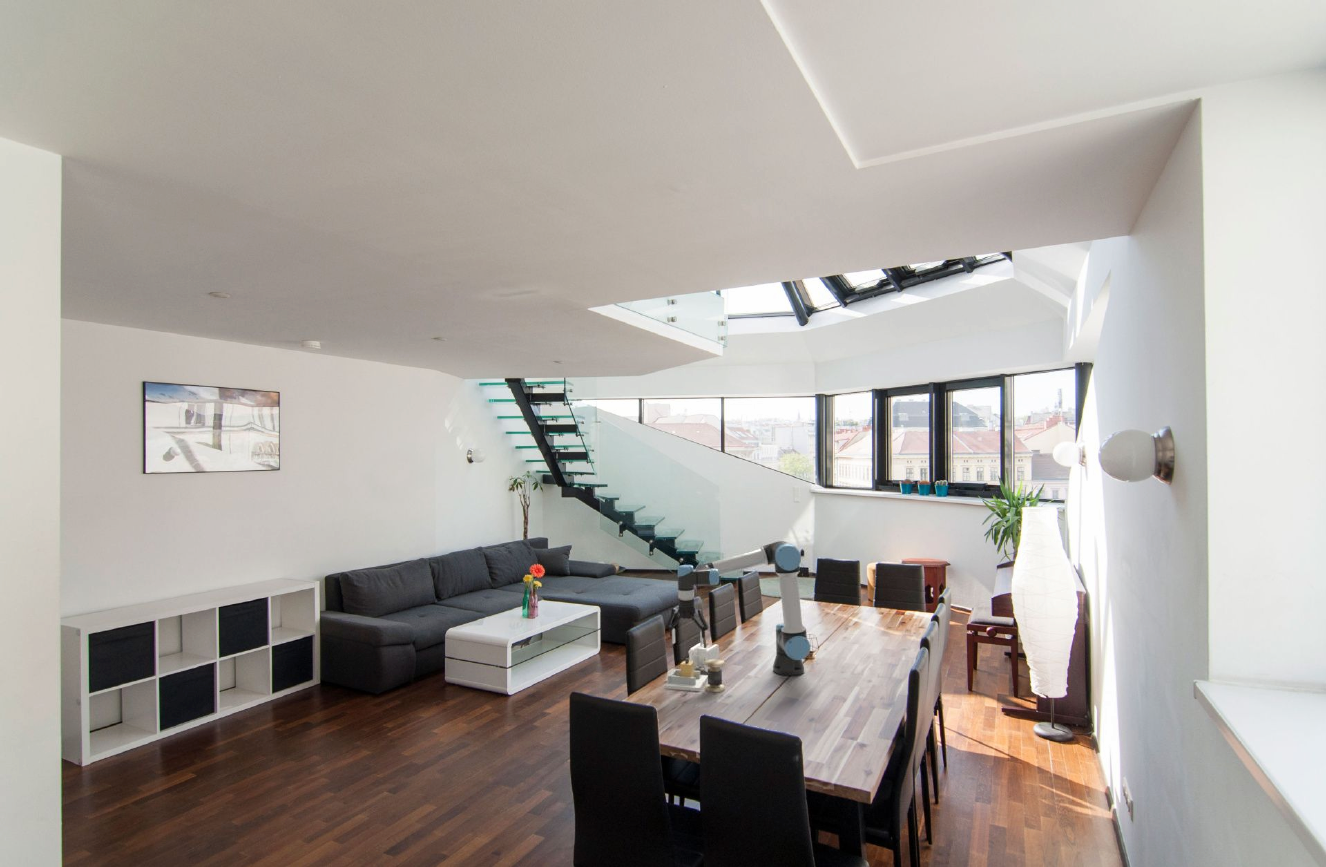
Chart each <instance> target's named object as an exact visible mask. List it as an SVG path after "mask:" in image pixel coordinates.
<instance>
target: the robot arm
mask: <svg viewBox="0 0 1326 867" xmlns="http://www.w3.org/2000/svg"><path fill="white" fill-rule="evenodd" d="M801 561H802V555H801V553H800V550H799V549H798V548H797V547H796V545H794V544H791V543H789V542H787V541H784V540H779V541H774V542H771V543H769V544H765V545H762V546H761V545H760V548H758V549H755V550H752V551H748V552H744V553H740V554H736V555H734V556H729V557H726V558H722V559H719V560H714V561H711V562H707V563H699V564H697V565H696V567H695V568H694V566H693V565H692V564H683V565H679V566H678V567H677V589H678V590H677V595H678V596H677V597H678V608H676V607H673V608H672V610H671V614H670V617H669V618H668V621H667V623H666V625H665V628H666V629H668V630H669V636H670V637H671V639H672V640H671V643H672V645H674V644H675V643H676V629H675V628H674V627H676V625H678V623H679V622H680V621H681V619H683V620H684V619H685V620H686V619H687V620H690V619H691V620H692V621H693V622H694V623H695V625H697V626H698V628H699V629H700V630H699V637H700V638H699V640H700V642H699V643H700V645H701V646H702V645H703V644H704V639H705V637H706V631H707V630H709V628H710V626H709V624H708V622H707V621H706V619H705V617H704V615H703V611H702V608H699V609H696V608H695V599H694V598H695V586H714V585H716V586H717V585H718V584H719V582H720V576H721V577H722V576H725V575H728V574H731V573H736V572H740V571H743V570H746V569H747V570H748V569H749V568H753V567H759V566H762V565H765V566H769V565H774V571H775V572H774V573H775V574H776V575H777V576H778V578H779V580H778V581H779V590H780V598H781V599H780V601H781V608H782V618H783V623H777V624H776V626H775V645H776V646H775V649H776V655H775V658H774V662H773V665H772V670H773V672H774V673H775V674H778V675H782V676H789V677H791V676H792V677H793V676H800V675H803V674H804V673H805V666H804V663H803V660H804V659H806V658H807V656H808V655H809V654H810V652H811V644H810V641H809V639H808V635H807V628H806V627H805V626H804V625H803V619H802V618H803V617H802V609H801V600H800V588H799V580H798V574H799V573H800V572H801V569H800V565H801ZM677 613H678V614H679V616H678V617H677V618H676V619H675V621H673V619H674V618H675V616H676V614H677ZM695 613H696V614H695ZM696 615H697V616H698V617H699V618H697V616H696ZM672 622H673V623H672Z"/></svg>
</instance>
